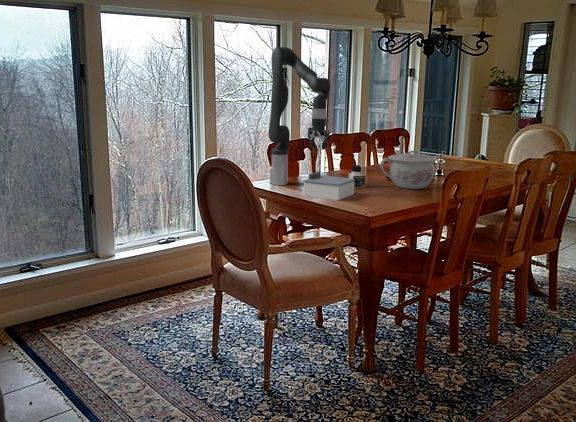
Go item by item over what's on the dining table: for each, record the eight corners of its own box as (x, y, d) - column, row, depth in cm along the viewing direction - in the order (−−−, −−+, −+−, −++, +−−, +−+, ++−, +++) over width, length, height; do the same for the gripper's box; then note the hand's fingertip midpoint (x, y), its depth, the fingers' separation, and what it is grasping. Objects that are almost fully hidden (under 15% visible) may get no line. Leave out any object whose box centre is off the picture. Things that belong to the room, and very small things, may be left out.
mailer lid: (303, 181, 286) (303, 175, 286) (320, 176, 302) (320, 170, 301) (338, 186, 276) (339, 179, 275) (355, 180, 291) (355, 174, 290)
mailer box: (303, 195, 288) (303, 182, 286) (320, 189, 303) (320, 177, 301) (338, 200, 278) (338, 186, 276) (353, 194, 293) (354, 181, 291)
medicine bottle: (352, 188, 309) (353, 166, 306) (348, 185, 316) (348, 164, 313) (364, 187, 311) (365, 166, 308) (359, 185, 318) (360, 164, 315)
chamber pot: (444, 187, 314) (447, 150, 309) (420, 194, 294) (423, 155, 289) (401, 180, 332) (403, 146, 327) (376, 187, 312) (377, 150, 307)
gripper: (304, 116, 292) (303, 147, 296) (323, 118, 281) (322, 150, 285) (315, 115, 296) (314, 146, 300) (334, 118, 286) (332, 149, 290)
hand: (317, 148), depth 293 cm, fingers open, 8 cm apart
